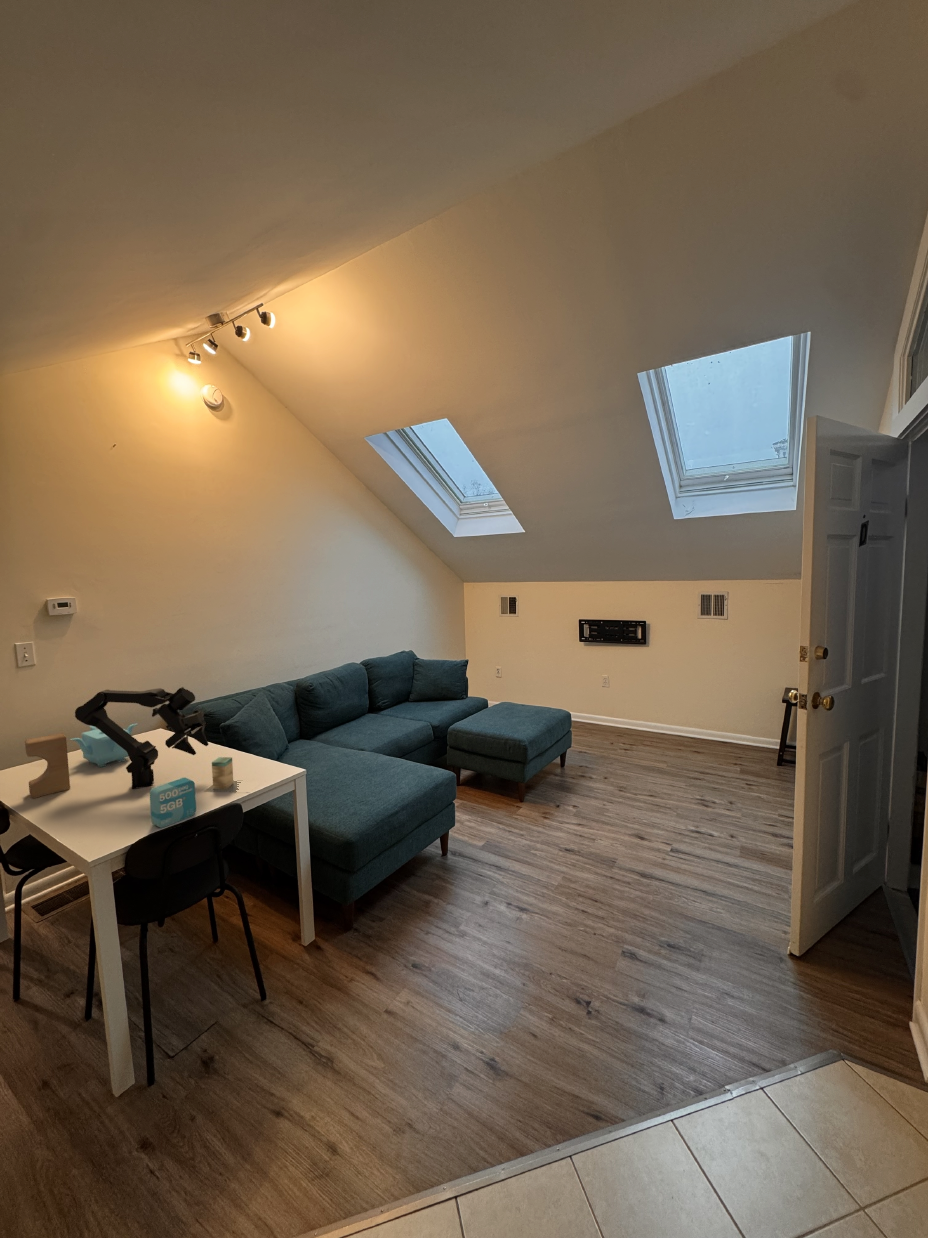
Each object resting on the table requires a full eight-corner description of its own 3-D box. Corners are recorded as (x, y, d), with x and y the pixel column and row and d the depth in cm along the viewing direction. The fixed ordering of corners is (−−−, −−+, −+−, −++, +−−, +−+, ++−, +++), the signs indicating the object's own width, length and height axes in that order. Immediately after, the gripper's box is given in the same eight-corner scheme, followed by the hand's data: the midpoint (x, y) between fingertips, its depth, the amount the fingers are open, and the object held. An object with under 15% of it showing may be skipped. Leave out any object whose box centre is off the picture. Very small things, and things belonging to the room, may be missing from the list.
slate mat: (203, 792, 184) (203, 791, 184) (219, 781, 194) (218, 780, 194) (249, 794, 183) (249, 793, 183) (262, 782, 193) (262, 781, 193)
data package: (158, 829, 158) (155, 792, 157) (151, 825, 161) (148, 789, 159) (196, 814, 168) (194, 779, 167) (189, 810, 171) (187, 776, 169)
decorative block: (30, 799, 179) (25, 743, 177) (29, 793, 183) (24, 739, 181) (70, 789, 186) (66, 736, 184) (68, 784, 190) (64, 732, 188)
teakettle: (122, 767, 207) (120, 732, 205) (69, 771, 202) (66, 735, 201) (140, 751, 225) (138, 718, 224) (92, 754, 221) (90, 721, 219)
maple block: (213, 788, 186) (211, 762, 185) (220, 782, 191) (219, 757, 190) (226, 789, 186) (224, 762, 185) (233, 783, 191) (232, 757, 190)
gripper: (176, 711, 179) (205, 745, 180) (202, 698, 197) (229, 728, 199) (152, 731, 179) (181, 764, 181) (180, 715, 198) (207, 746, 199)
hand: (201, 749), depth 190 cm, fingers open, 9 cm apart
